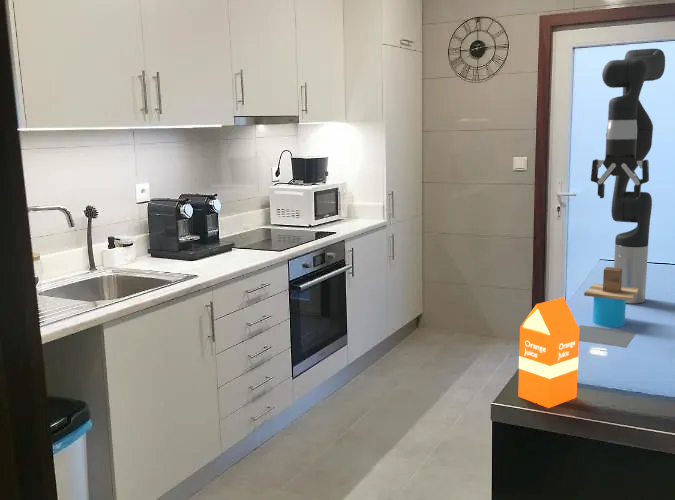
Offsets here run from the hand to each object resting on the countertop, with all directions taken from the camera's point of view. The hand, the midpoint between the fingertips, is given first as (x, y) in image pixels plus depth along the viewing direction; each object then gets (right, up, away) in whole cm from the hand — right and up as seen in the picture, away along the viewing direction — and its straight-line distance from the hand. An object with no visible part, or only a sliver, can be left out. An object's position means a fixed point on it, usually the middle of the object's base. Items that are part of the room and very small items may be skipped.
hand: (618, 198), depth 188 cm
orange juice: (-33, -44, -47) cm, 72 cm away
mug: (-1, -34, +4) cm, 34 cm away
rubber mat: (-8, -36, -9) cm, 38 cm away
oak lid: (-1, -26, +2) cm, 26 cm away
